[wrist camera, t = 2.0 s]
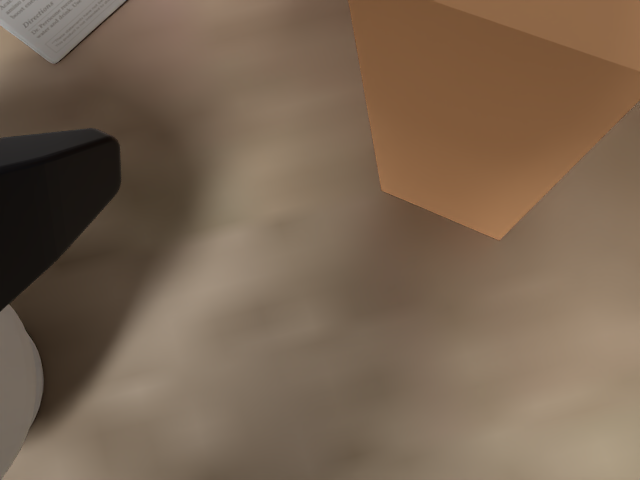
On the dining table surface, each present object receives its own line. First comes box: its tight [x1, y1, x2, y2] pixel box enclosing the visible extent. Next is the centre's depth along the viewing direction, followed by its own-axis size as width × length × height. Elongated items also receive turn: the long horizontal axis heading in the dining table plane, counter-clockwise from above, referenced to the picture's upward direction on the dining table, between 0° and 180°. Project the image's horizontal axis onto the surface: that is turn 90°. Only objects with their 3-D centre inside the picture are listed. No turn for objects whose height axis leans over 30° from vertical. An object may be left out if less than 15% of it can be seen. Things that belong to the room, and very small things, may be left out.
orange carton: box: [348, 0, 640, 240], centre depth 14 cm, size 5×5×13 cm
